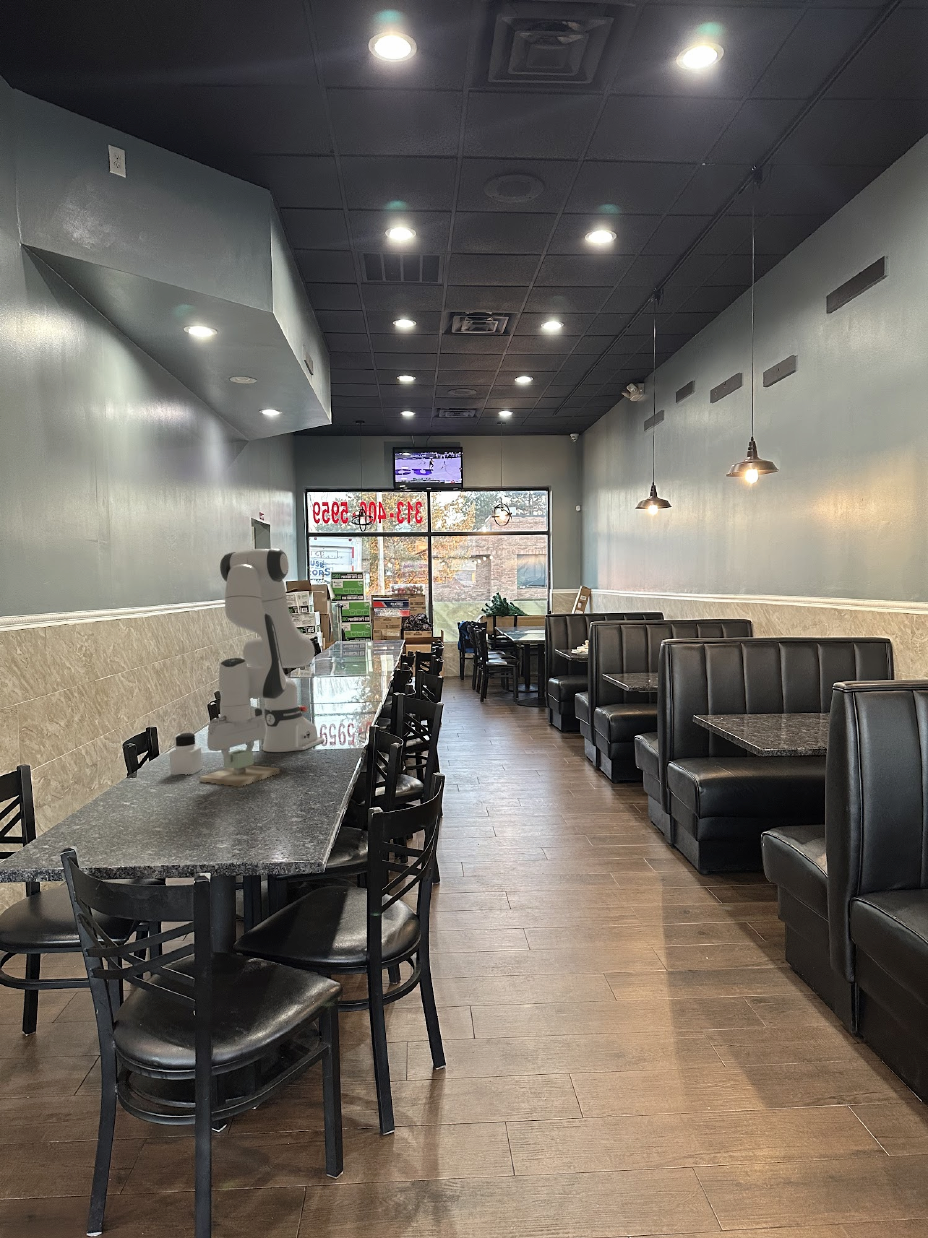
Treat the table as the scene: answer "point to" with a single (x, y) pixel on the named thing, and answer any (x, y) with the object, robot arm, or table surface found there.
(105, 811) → the table surface
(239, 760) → the green block with hole
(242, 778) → the base plate
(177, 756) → the medicine bottle
